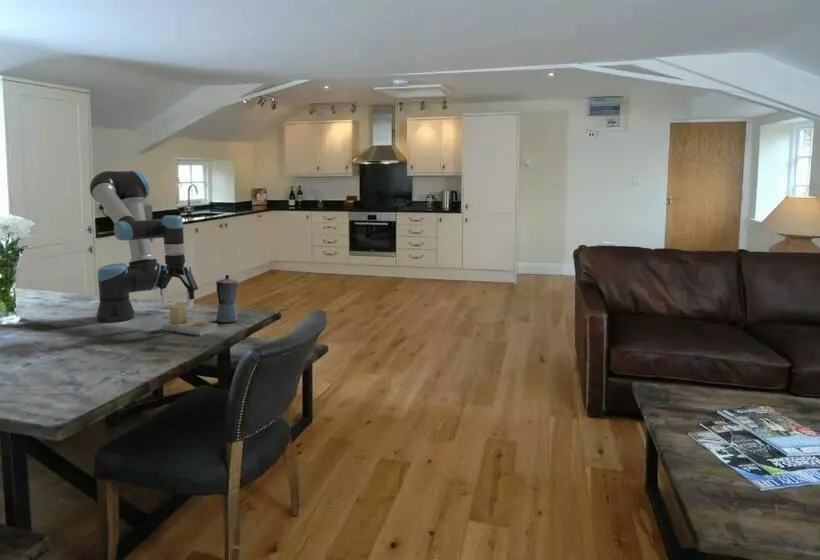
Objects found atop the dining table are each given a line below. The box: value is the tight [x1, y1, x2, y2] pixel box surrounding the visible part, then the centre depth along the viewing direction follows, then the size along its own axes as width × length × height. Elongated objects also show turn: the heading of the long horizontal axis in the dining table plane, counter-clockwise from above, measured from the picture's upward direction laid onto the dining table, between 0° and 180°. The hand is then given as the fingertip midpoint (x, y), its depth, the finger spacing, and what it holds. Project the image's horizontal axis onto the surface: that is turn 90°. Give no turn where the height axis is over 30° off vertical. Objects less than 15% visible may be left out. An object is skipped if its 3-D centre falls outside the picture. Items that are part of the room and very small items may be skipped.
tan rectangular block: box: [169, 304, 187, 324], centre depth 256 cm, size 4×4×9 cm
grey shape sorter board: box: [161, 318, 218, 336], centre depth 254 cm, size 20×10×3 cm, turn 66°
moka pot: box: [215, 274, 239, 323], centre depth 267 cm, size 10×15×20 cm, turn 174°
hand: (177, 305), depth 255 cm, fingers open, 13 cm apart
